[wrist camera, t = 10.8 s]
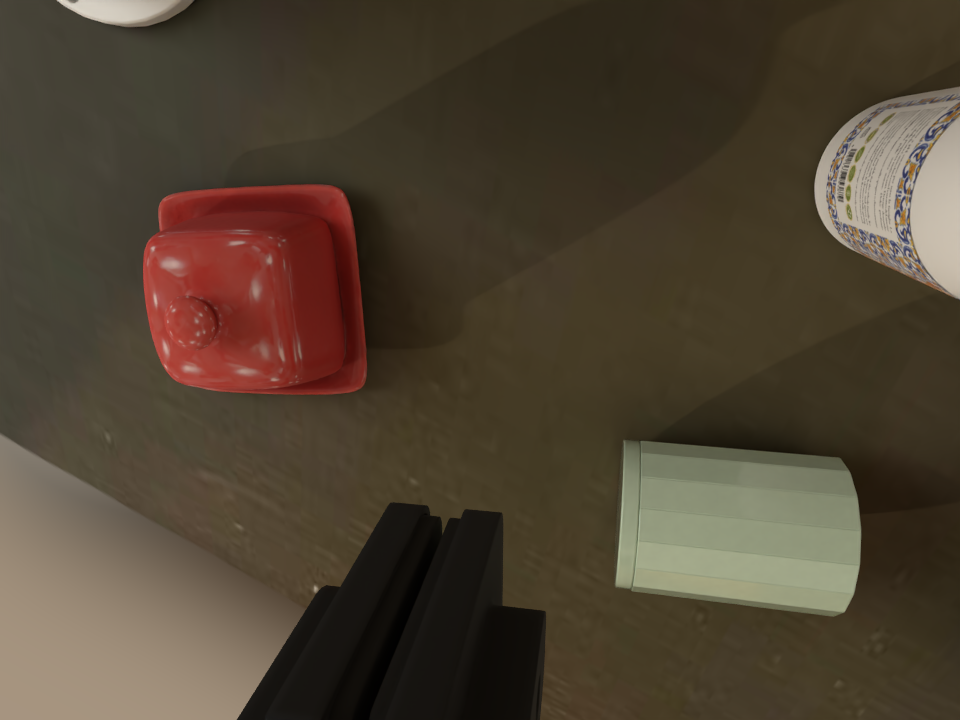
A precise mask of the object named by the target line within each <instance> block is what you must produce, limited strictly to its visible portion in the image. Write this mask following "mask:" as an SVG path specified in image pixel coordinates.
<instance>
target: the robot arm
mask: <svg viewBox="0 0 960 720" xmlns="http://www.w3.org/2000/svg"><path fill="white" fill-rule="evenodd" d="M57 1H59V2H60V3H61V4H62V5H64V6H65V7H67V8H69V9H71V10H72V11H74V12H76V13H78V14H80V15H82V16H84V17H86V18H89V19H93V20H96V21H99V22H103V23H106V24H112V25H118V26H123V27H139V26H149V25H152V24H156V23H159V22H162V21H166V20H168V19H170V18H171V17H173V16H175V15H176V14H178V13H180V12H181V11H183V10H185V9H186V8H187V7H188V6H189V5H190V4H191V3H192V2H193V1H194V0H57ZM502 591H503V515H502V513H500V512H489V511H478V510H468V509H466V510H464V512H463V515H462V517H461V519H458V518H450V519H449V521H448V523H447V525H446V528H445V530H444V533H443V535H442V521H441V518H440V517H437V516H430V511H429V508H428V506H425V505H415V504H404V503H394V502H393V503H390V504H389V505H388V507H387V508H386V510H385V512H384V513H383V515H382V517H381V519H380V520H379V522H378V524H377V525H376V527H375V529H374V530H373V532H372V534H371V536H370V537H369V539H368V541H367V542H366V544H365V546H364V548H363V549H362V551H361V553H360V554H359V556H358V558H357V559H356V561H355V563H354V565H353V566H352V568H351V570H350V571H349V573H348V575H347V576H346V578H345V580H344V582H343V583H342V585H341V587H336V586H328V585H326V586H324V587H322V588H321V589H320V590H319V591H318V593H317V594H316V595H315V597H314V598H313V600H312V601H311V603H310V604H309V606H308V608H307V609H306V611H305V613H304V614H303V616H302V617H301V619H300V620H299V622H298V624H297V625H296V627H295V628H294V630H293V631H292V633H291V635H290V637H289V638H288V639H287V641H286V643H285V644H284V646H283V647H282V649H281V651H280V652H279V654H278V655H277V657H276V658H275V660H274V662H273V663H272V665H271V666H270V668H269V670H268V671H267V673H266V674H265V676H264V677H263V679H262V681H261V682H260V684H259V686H258V687H257V689H256V690H255V692H254V693H253V695H252V697H251V698H250V700H249V701H248V703H247V704H246V706H245V708H244V709H243V711H242V712H241V714H240V716H239V717H238V719H237V720H540V712H541V701H542V689H543V675H544V657H545V631H546V612H545V611H541V610H532V609H524V608H515V607H507V606H502Z"/></svg>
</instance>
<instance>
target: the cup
mask: <svg viewBox="0 0 960 720" xmlns="http://www.w3.org/2000/svg"><path fill="white" fill-rule="evenodd" d="M860 554H861V523H860V514H859V504H858V498H857V493H856V490H855V487H854V483H853V480H852V476H851V473H850V471H849V470H848V468H847V467H846V465H845V464H844V462H843V461H842V459H841V458H838V457H832V456H821V455H809V454H798V453H786V452H774V451H762V450H751V449H739V448H727V447H715V446H704V445H692V444H680V443H668V442H657V441H645V440H639V441H638V440H630V439H624V440H623V444H622V453H621V463H620V475H619V489H618V504H617V520H616V539H615V562H614V585H615V587H616V588H623V589H631V591H636V592H644V593H652V594H660V595H668V596H676V597H684V598H692V599H699V600H707V601H715V602H723V603H731V604H739V605H747V606H755V607H763V608H771V609H779V610H787V611H795V612H803V613H810V614H818V615H826V616H836V615H839V614H841V613H844V612H845V611H846V609H847V607H848V605H849V603H850V601H851V599H852V597H853V595H854V592H855V587H856V583H857V578H858V573H859V568H860Z"/></svg>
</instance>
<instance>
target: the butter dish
mask: <svg viewBox="0 0 960 720" xmlns="http://www.w3.org/2000/svg"><path fill="white" fill-rule="evenodd" d="M159 225H160V226H159V228H160V232H158V233H157V234H155V235H154V236H152V237H151V239H150V240H149V241H148V243H147V245H146V248H145V252H144V263H143V277H144V279H143V281H144V292H145V300H146V308H147V314H148V319H149V324H150V329H151V333H152V337H153V340H154V344H155V347H156V350H157V353H158V355H159V358H160V360H161V363H162V364H163V366H164V368H165V369H166V371H167V373H168V374H169V375H170V376H171V377H172V378H173V379H174V380H176V381H177V382H180V383H182V384H185V385H189V386H194V387H200V388H204V389H207V390H216V391H221V392H225V391H226V392H237V393H262V394H314V395H316V394H320V395H321V394H340V393H349V392H353V391H357V390H359V389H360V388H362V387H363V385H364V384H365V381H366V377H367V359H366V352H367V349H366V342H365V330H364V322H363V308H362V296H361V286H360V278H359V267H358V255H357V246H356V237H355V227H354V220H353V217H352V212H351V209H350V205H349V202H348V199H347V197H346V195H345V193H344V192H343V191H342V190H341V189H340V188H338V187H335V186H332V185H319V184H303V185H279V186H278V185H275V186H256V187H239V188H218V189H206V190H195V191H186V192H181V193H175V194H171V195H169V196H167V197H165V198H164V199H163V200H162V201H161V203H160V206H159Z"/></svg>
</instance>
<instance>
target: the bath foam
mask: <svg viewBox="0 0 960 720" xmlns="http://www.w3.org/2000/svg"><path fill="white" fill-rule="evenodd" d="M815 201H816V206H817V209H818V212H819V215H820V217H821V219H822V221H823V223H824V225H825V226H826V228H827V229H828V230H829V232H830V233H831V234H832V235H833V236H834V237H835V238H836V239H837V240H838V241H839V242H841V243H842V244H844V245H845V246H847V247H848V248H850V249H852V250H854V251H856V252H858V253H860V254H862V255H864V256H866V257H868V258H870V259H872V260H874V261H876V262H878V263H881V264H883V265H885V266H887V267H889V268H891V269H894V270H896V271H898V272H900V273H902V274H904V275H906V276H909V277H911V278H913V279H915V280H917V281H919V282H921V283H924V284H926V285H928V286H930V287H932V288H934V289H937V290H939V291H941V292H943V293H945V294H947V295H949V296H952V297H954V298H956V299H958V300H960V87H955V88H949V89H944V90H938V91H932V92H926V93H920V94H914V95H908V96H903V97H898V98H894V99H890V100H886V101H884V102H881V103H878V104H876V105H874V106H872V107H870V108H868V109H866V110H864V111H862V112H861V113H859V114H858V115H856V116H855V117H854V118H852V119H851V120H850V121H849V122H847V123H846V124H845V125H844V126H843V127H842V128H841V129H840V130H839V131H838V132H837V133H836V135H835V136H834V137H833V139H832V140H831V141H830V143H829V144H828V146H827V147H826V149H825V151H824V153H823V155H822V157H821V160H820V162H819V165H818V168H817V172H816V177H815Z"/></svg>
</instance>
